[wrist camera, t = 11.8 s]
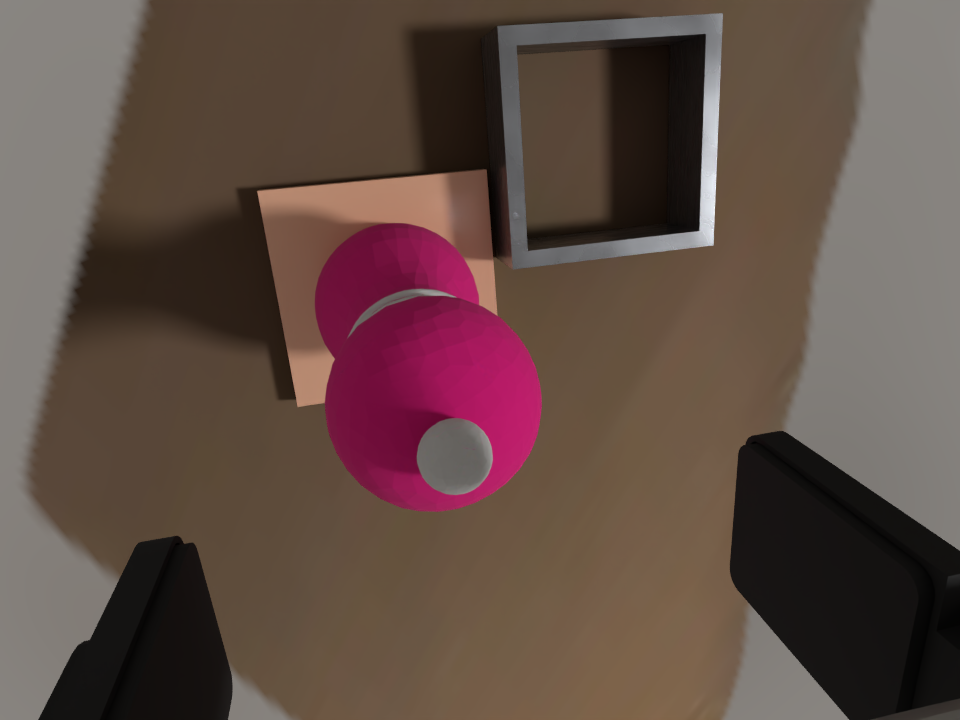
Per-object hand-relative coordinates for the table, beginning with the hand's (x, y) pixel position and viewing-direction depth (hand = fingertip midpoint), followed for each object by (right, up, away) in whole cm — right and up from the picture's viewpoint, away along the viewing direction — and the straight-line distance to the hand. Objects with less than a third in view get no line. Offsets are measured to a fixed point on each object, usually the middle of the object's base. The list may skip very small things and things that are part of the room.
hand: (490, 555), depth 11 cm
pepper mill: (-5, +7, +22) cm, 24 cm away
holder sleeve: (+5, +15, +23) cm, 28 cm away
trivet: (-5, +7, +23) cm, 25 cm away
